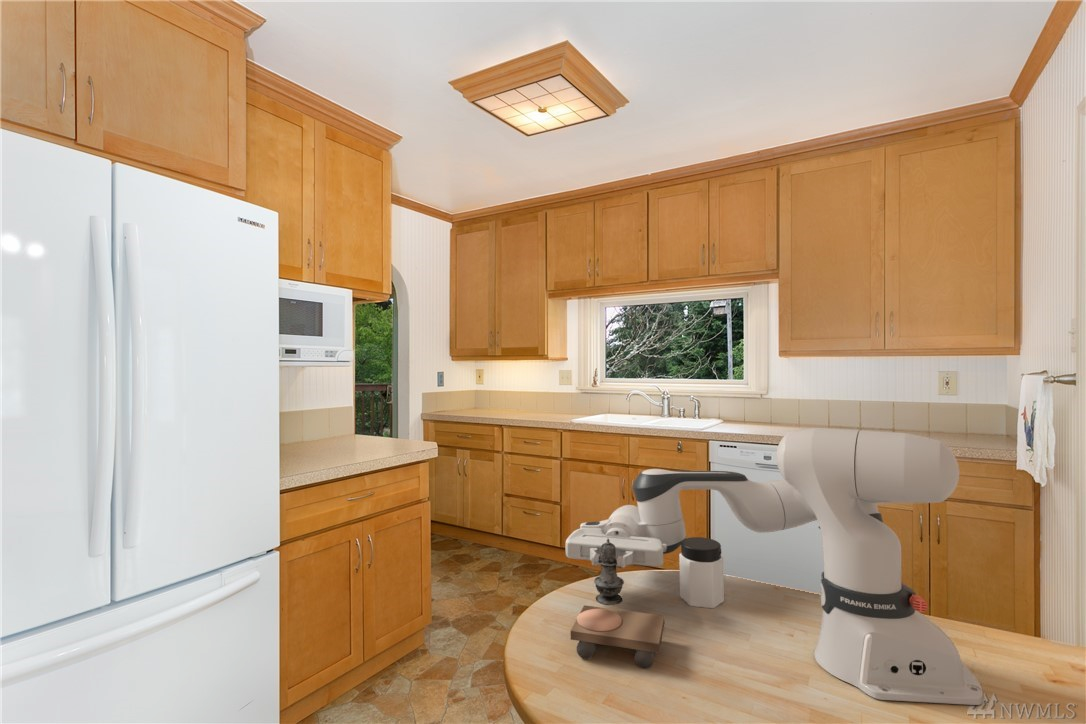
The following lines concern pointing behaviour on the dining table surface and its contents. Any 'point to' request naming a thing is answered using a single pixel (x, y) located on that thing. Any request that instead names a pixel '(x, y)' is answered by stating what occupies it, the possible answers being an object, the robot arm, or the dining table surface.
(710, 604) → the jar
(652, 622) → the roller slab
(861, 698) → the dining table surface
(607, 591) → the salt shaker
